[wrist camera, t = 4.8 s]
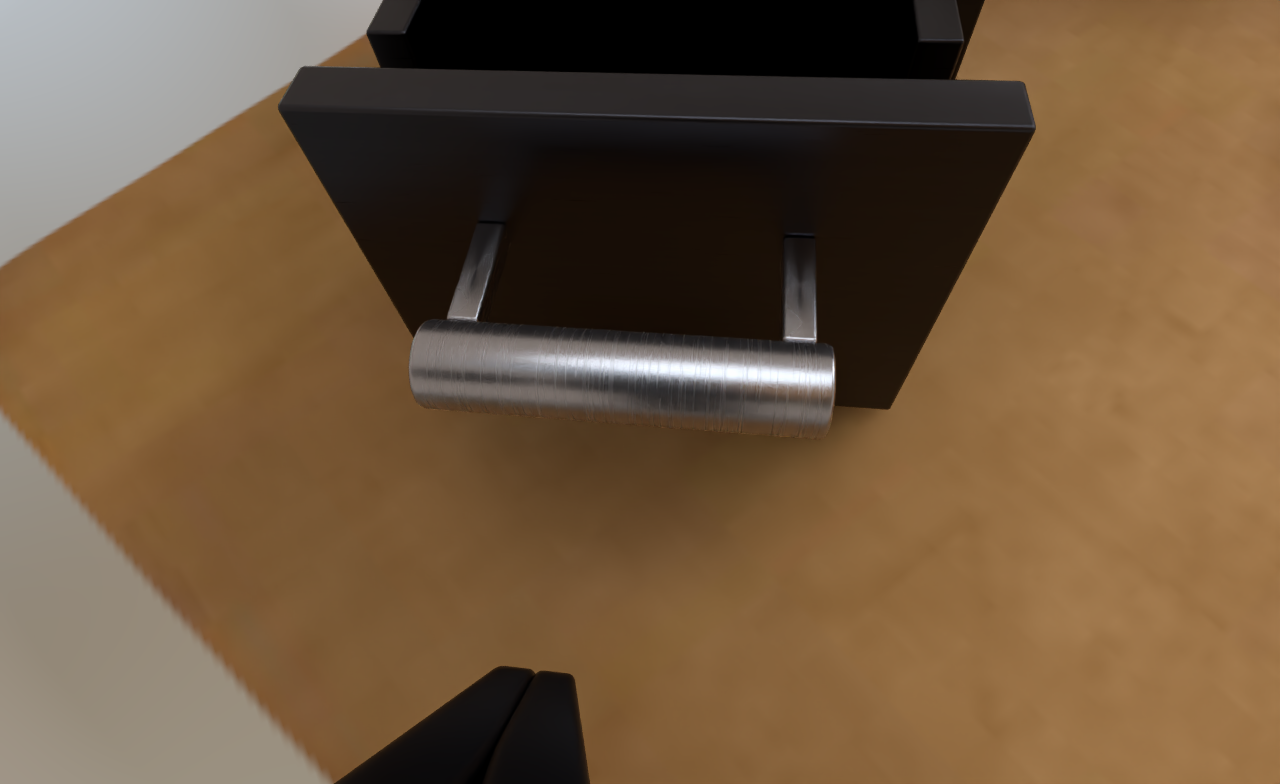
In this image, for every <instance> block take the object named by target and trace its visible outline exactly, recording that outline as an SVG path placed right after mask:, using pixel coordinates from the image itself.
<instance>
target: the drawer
mask: <svg viewBox="0 0 1280 784" xmlns="http://www.w3.org/2000/svg"><path fill="white" fill-rule="evenodd" d="M367 36H368V39H369V41H370V44H371V46H372V48H373V51H374V53H375V55H376V58H377V60H378V63H379V65H380V67H381V68H372V67H324V66H304V67H302V68H300V69H299V71H298V72H297V74H296V76H295V77H294V79H293V81H292V82H291V84H290V86H289V87H288V89H287V91H286V93H285V94H284V96H283V98H282V99H281V101H280V103H279V104H278V109H279V112H280V114H281V115H282V117H283V119H284V120H285V122H286V124H287V125H288V127H289V129H290V130H291V132H292V134H293V136H294V137H295V139H296V141H297V142H298V144H299V146H300V147H301V149H302V151H303V152H304V154H305V156H306V157H307V159H308V161H309V163H310V164H311V166H312V168H313V169H314V171H315V173H316V174H317V176H318V178H319V179H320V181H321V183H322V184H323V186H324V188H325V189H326V191H327V193H328V195H329V196H330V198H331V200H332V201H333V203H334V205H335V206H336V208H337V210H338V211H339V213H340V215H341V216H342V218H343V220H344V222H345V223H346V225H347V227H348V228H349V230H350V232H351V233H352V235H353V237H354V238H355V240H356V242H357V243H358V245H359V247H360V249H361V250H362V252H363V254H364V255H365V257H366V259H367V260H368V262H369V264H370V265H371V267H372V269H373V270H374V272H375V274H376V275H377V277H378V279H379V281H380V282H381V284H382V286H383V287H384V289H385V291H386V292H387V294H388V296H389V297H390V299H391V301H392V302H393V304H394V306H395V308H396V309H397V311H398V313H399V314H400V316H401V318H402V319H403V321H404V323H405V324H406V326H407V328H408V329H409V331H410V333H411V335H412V336H413V338H414V339H413V342H412V346H411V351H410V358H409V380H410V386H411V391H412V394H413V396H414V399H415V400H416V402H417V403H418V404H419V405H420V406H422V407H423V408H426V409H436V410H449V411H462V412H475V413H488V414H501V415H513V416H526V417H539V418H552V419H565V420H578V421H591V422H603V423H616V424H629V425H642V426H655V427H668V428H680V429H693V430H706V431H719V432H732V433H745V434H757V435H770V436H783V437H796V438H809V439H823V438H825V437H826V435H827V433H828V431H829V428H830V425H831V421H832V416H833V410H834V406H845V407H859V408H873V409H890V408H891V406H892V404H893V402H894V400H895V398H896V396H897V394H898V392H899V390H900V388H901V387H902V385H903V383H904V381H905V379H906V377H907V375H908V373H909V371H910V369H911V367H912V366H913V364H914V362H915V360H916V358H917V356H918V354H919V352H920V350H921V348H922V346H923V345H924V343H925V341H926V339H927V337H928V335H929V333H930V331H931V329H932V327H933V325H934V323H935V322H936V320H937V318H938V316H939V314H940V312H941V310H942V308H943V306H944V304H945V302H946V301H947V299H948V297H949V295H950V293H951V291H952V289H953V287H954V285H955V283H956V281H957V279H958V278H959V276H960V274H961V272H962V270H963V268H964V266H965V264H966V262H967V260H968V258H969V257H970V255H971V253H972V251H973V249H974V247H975V245H976V243H977V241H978V239H979V237H980V236H981V234H982V232H983V230H984V228H985V226H986V224H987V222H988V220H989V218H990V216H991V214H992V213H993V211H994V209H995V207H996V205H997V203H998V201H999V199H1000V197H1001V195H1002V193H1003V192H1004V190H1005V188H1006V186H1007V184H1008V182H1009V180H1010V178H1011V176H1012V174H1013V172H1014V170H1015V169H1016V167H1017V165H1018V163H1019V161H1020V159H1021V157H1022V155H1023V153H1024V151H1025V149H1026V148H1027V146H1028V144H1029V142H1030V140H1031V138H1032V136H1033V134H1034V132H1035V130H1036V125H1035V121H1034V118H1033V114H1032V110H1031V106H1030V102H1029V98H1028V94H1027V91H1026V87H1025V84H1024V83H1023V82H1021V81H995V80H951V77H952V75H953V72H954V69H955V66H956V64H957V61H958V58H959V56H960V53H961V50H962V47H963V45H964V36H963V31H962V26H961V21H960V16H959V11H958V6H957V1H956V0H383V1H382V3H381V5H380V7H379V9H378V11H377V12H376V14H375V16H374V18H373V20H372V22H371V24H370V25H369V27H368V29H367Z"/></svg>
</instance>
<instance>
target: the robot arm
mask: <svg viewBox="0 0 1280 784" xmlns="http://www.w3.org/2000/svg"><path fill="white" fill-rule="evenodd" d="M334 784H590V780H589V773H588V767H587V760H586V753H585V746H584V739H583V732H582V726H581V719H580V712H579V705H578V698H577V692H576V685H575V679H574V677H573V676H572V675H571V674H568V673H559V672H551V671H539V672H537V673H536V674H535V673H534V671H533V670H531V669H526V668H517V667H509V666H499V667H497V668H495V669H493V670H492V671H490V672H489V673H488V674H486V675H485V676H483V677H482V678H481V679H479V680H478V681H476V682H475V683H474V684H472V685H471V686H469V687H468V688H467V689H465V690H464V691H463V692H461V693H460V694H458V695H457V696H456V697H454V698H453V699H451V700H450V701H449V702H447V703H446V704H444V705H443V706H442V707H440V708H439V709H437V710H436V711H435V712H433V713H432V714H430V715H429V716H428V717H426V718H425V719H423V720H422V721H421V722H419V723H418V724H417V725H415V726H414V727H412V728H411V729H410V730H408V731H407V732H405V733H404V734H403V735H401V736H400V737H398V738H397V739H396V740H394V741H393V742H391V743H390V744H389V745H387V746H386V747H384V748H383V749H382V750H380V751H379V752H378V753H376V754H375V755H373V756H372V757H371V758H369V759H368V760H366V761H365V762H364V763H362V764H361V765H359V766H358V767H357V768H355V769H354V770H352V771H351V772H350V773H348V774H347V775H345V776H344V777H343V778H341V779H340V780H339V781H337V782H336V783H334Z"/></svg>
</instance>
